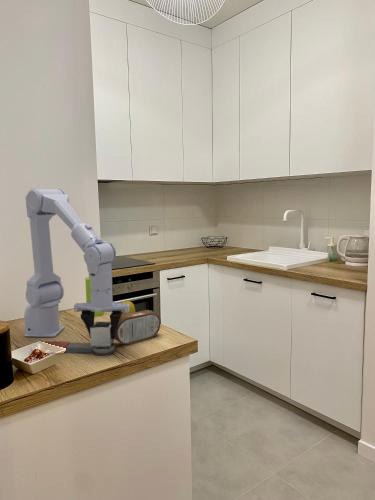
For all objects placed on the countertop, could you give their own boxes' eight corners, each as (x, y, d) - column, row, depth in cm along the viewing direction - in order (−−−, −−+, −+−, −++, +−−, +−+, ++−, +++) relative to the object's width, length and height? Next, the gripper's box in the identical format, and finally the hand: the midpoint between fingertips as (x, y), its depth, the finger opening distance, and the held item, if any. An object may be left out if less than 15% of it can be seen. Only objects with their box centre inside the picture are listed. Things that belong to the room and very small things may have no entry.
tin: (156, 333, 113) (156, 306, 112) (162, 336, 111) (162, 309, 109) (111, 345, 104) (110, 316, 103) (116, 348, 102) (115, 319, 100)
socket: (90, 346, 97) (90, 327, 96) (96, 338, 102) (95, 321, 101) (110, 346, 97) (109, 328, 96) (114, 338, 102) (114, 321, 101)
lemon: (132, 326, 118) (131, 302, 117) (115, 325, 119) (115, 301, 118) (137, 321, 124) (137, 298, 122) (122, 320, 125) (121, 297, 123)
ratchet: (33, 355, 98) (32, 340, 97) (43, 346, 103) (42, 331, 103) (111, 356, 97) (111, 341, 96) (117, 347, 103) (116, 332, 102)
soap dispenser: (93, 318, 126) (91, 261, 123) (83, 313, 131) (81, 258, 128) (108, 314, 130) (106, 259, 127) (98, 310, 135) (96, 256, 132)
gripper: (68, 292, 93) (71, 342, 95) (125, 292, 93) (126, 343, 95) (78, 285, 100) (80, 332, 102) (130, 285, 100) (131, 333, 102)
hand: (102, 337), depth 99 cm, fingers closed on socket, 5 cm apart
